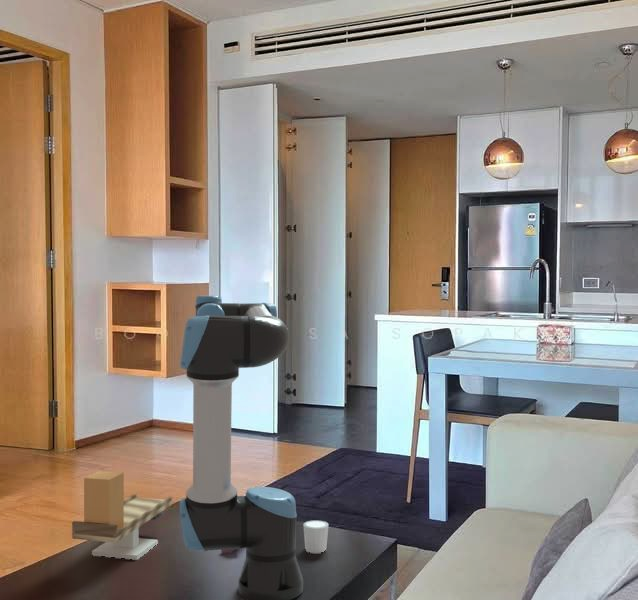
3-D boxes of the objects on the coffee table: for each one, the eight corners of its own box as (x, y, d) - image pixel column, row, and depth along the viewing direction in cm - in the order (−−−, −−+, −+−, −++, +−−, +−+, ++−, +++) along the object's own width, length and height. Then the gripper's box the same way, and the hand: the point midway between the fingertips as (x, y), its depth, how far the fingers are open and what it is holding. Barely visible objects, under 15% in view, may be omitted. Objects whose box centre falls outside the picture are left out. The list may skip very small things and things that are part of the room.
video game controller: (233, 560, 191) (245, 538, 191) (218, 552, 192) (230, 529, 192) (243, 547, 201) (254, 526, 201) (229, 539, 202) (240, 517, 201)
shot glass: (332, 552, 194) (332, 526, 194) (307, 555, 191) (308, 529, 191) (323, 543, 200) (323, 518, 200) (299, 546, 198) (299, 521, 198)
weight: (109, 536, 179) (109, 479, 178) (84, 533, 180) (84, 477, 180) (123, 526, 186) (123, 472, 185) (99, 524, 187) (98, 470, 187)
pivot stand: (137, 560, 187) (137, 537, 187) (91, 555, 190) (91, 532, 190) (157, 544, 199) (157, 522, 199) (115, 540, 202) (115, 518, 202)
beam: (115, 553, 178) (115, 525, 177) (72, 548, 180) (72, 521, 180) (171, 513, 209) (172, 489, 209) (134, 510, 211) (134, 486, 211)
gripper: (205, 346, 217) (204, 425, 217) (187, 350, 204) (187, 433, 204) (228, 347, 215) (228, 426, 215) (212, 350, 202) (212, 435, 203)
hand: (208, 429), depth 210 cm, fingers closed
